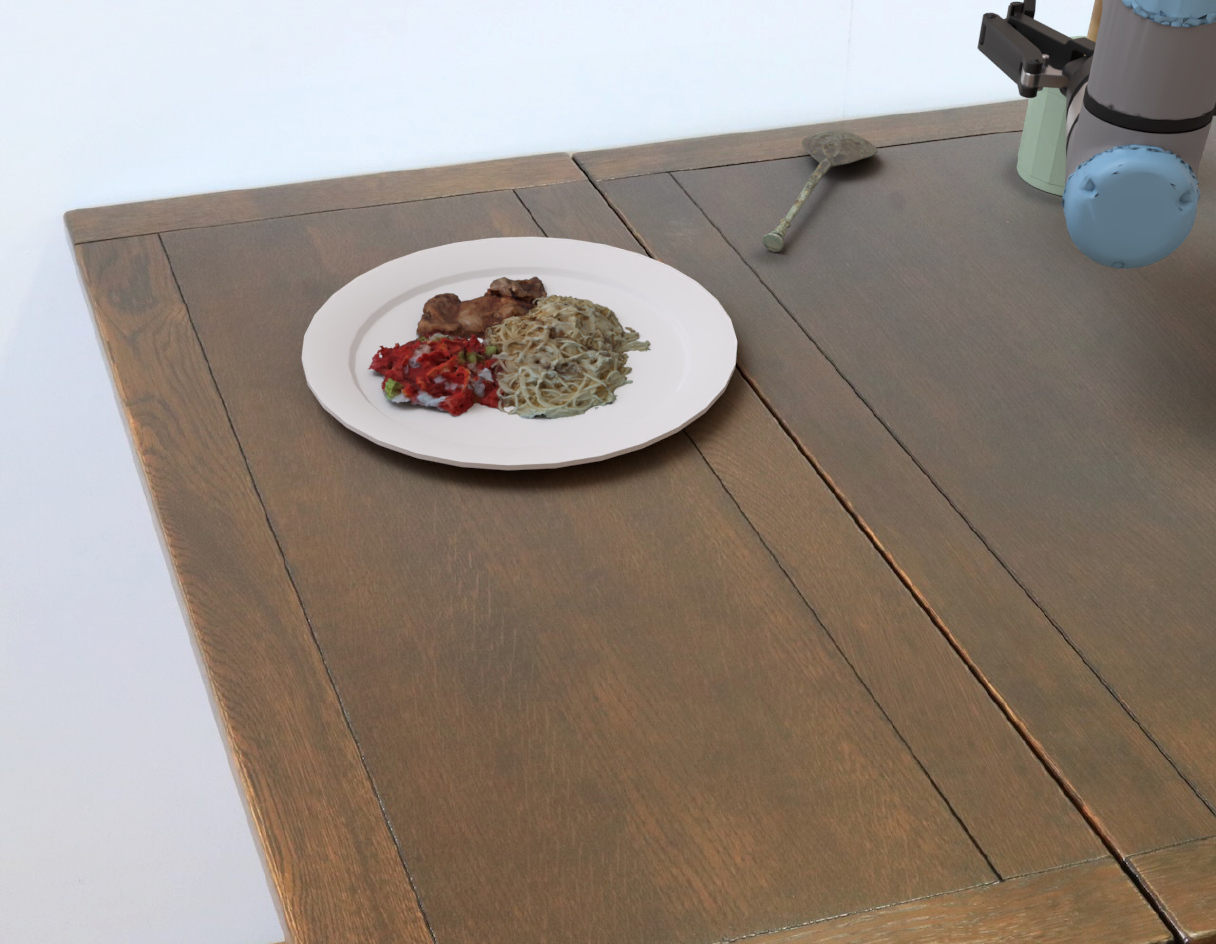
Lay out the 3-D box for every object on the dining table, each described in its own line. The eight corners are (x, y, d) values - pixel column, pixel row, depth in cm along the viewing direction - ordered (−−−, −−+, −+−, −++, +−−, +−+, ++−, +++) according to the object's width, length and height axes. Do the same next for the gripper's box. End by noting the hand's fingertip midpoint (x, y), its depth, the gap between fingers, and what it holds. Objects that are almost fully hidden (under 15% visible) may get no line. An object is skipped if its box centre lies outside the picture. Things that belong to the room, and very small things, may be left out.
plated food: (812, 335, 108) (817, 293, 105) (572, 549, 89) (572, 503, 87) (483, 223, 120) (481, 184, 118) (212, 390, 101) (204, 347, 99)
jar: (1142, 164, 130) (1172, 49, 123) (1115, 208, 123) (1145, 89, 117) (1034, 141, 133) (1057, 28, 126) (1002, 183, 127) (1025, 66, 120)
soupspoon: (885, 159, 131) (814, 149, 134) (889, 121, 129) (816, 112, 132) (810, 260, 116) (730, 247, 118) (813, 218, 114) (731, 206, 116)
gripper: (926, 151, 103) (947, 41, 119) (1305, 191, 99) (1275, 71, 115) (943, 42, 98) (962, -58, 114) (1343, 80, 94) (1306, -30, 110)
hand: (1119, 7), depth 114 cm, fingers open, 13 cm apart
